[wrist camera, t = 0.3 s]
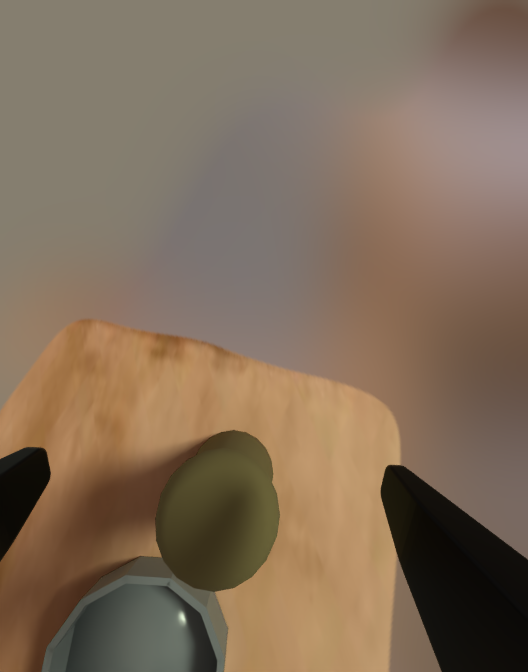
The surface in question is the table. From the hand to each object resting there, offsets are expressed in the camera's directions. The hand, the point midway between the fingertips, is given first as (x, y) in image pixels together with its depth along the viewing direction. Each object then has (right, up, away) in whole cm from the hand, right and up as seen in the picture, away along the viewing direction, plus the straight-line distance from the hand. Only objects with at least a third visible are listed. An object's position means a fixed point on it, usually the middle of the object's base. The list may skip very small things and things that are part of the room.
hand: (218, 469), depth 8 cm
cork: (-1, -7, +14) cm, 16 cm away
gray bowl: (-6, -16, +11) cm, 21 cm away
